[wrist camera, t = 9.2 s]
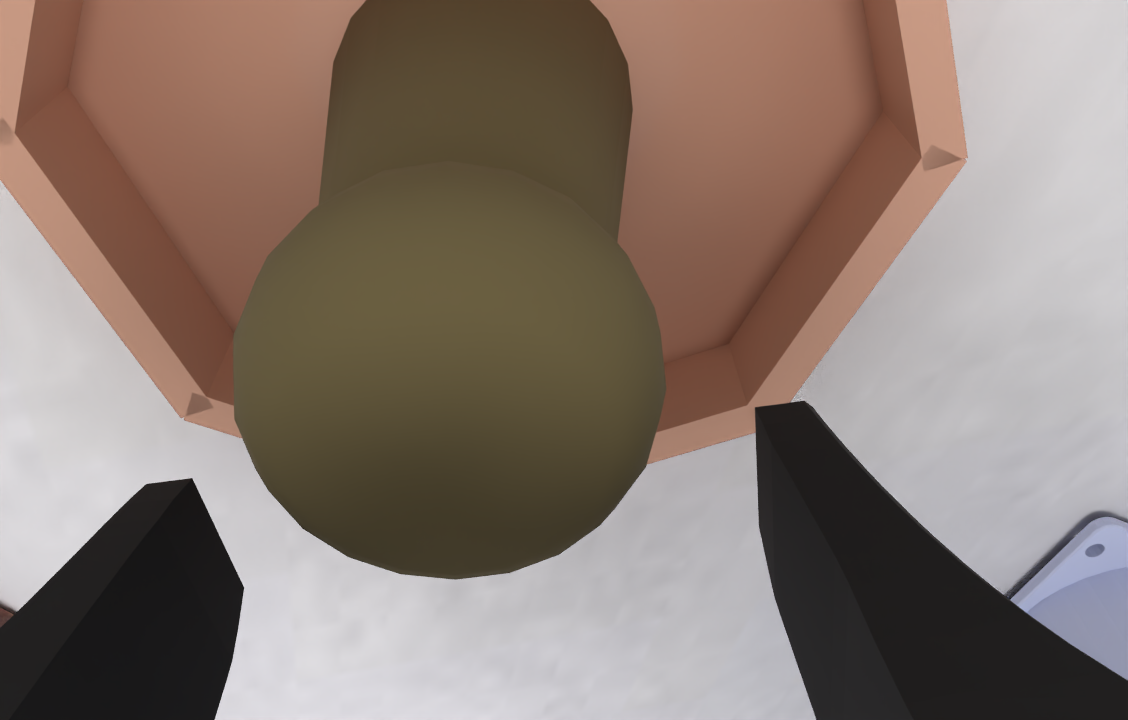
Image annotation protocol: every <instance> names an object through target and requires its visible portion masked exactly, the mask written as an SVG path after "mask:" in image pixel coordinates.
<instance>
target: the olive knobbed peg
mask: <svg viewBox="0 0 1128 720" xmlns="http://www.w3.org/2000/svg"><path fill="white" fill-rule="evenodd" d="M632 113H633V106H632V97H631V87H630V78H629V69H628V63H627V60H626V58H625V56H624V54H623V52H622V49H621V47H620V45H619V43H618V41H617V39H616V36H615V34H614V32H613V30H612V28H611V25H610V23H609V21H608V19H607V18H606V17H605V16H604V15H603V14H602V13H601V12H600V11H599V10H598V9H597V7H596V6H595V5H594V4H593V3H592V2H591V1H590V0H366V1H365V2H364V3H363V5H362V6H361V7H360V8H359V9H358V10H357V11H356V12H355V14H354V15H353V16H352V17H351V18H350V21H349V23H348V26H347V28H346V31H345V33H344V36H343V39H342V41H341V44H340V46H339V49H338V51H337V54H336V56H335V59H334V61H333V69H332V78H331V88H330V98H329V108H328V117H327V127H326V137H325V147H324V156H323V166H322V176H321V186H320V195H319V205H318V206H317V207H315V208H314V209H312V210H311V211H310V212H309V213H308V214H307V215H306V216H305V217H304V218H303V219H302V220H301V221H300V222H299V223H298V225H297V226H296V227H295V228H294V229H293V230H292V231H291V232H290V233H289V234H288V235H287V236H286V237H285V238H284V239H283V240H282V241H281V242H280V243H279V244H278V245H277V246H276V247H275V248H274V249H273V250H272V252H271V253H270V254H269V255H268V256H267V258H266V260H265V262H264V264H263V266H262V268H261V270H260V272H259V274H258V276H257V278H256V280H255V282H254V285H253V287H252V290H251V292H250V295H249V297H248V300H247V302H246V305H245V307H244V310H243V312H242V315H241V317H240V320H239V322H238V325H237V327H236V330H235V332H234V335H233V381H234V420H235V422H236V424H237V427H238V429H239V431H240V434H241V436H242V438H243V441H244V443H245V445H246V448H247V450H248V452H249V455H250V457H251V459H252V462H253V464H254V466H255V469H256V471H257V472H258V474H259V476H260V477H261V479H262V481H263V482H264V484H265V486H266V487H267V489H268V491H269V492H270V493H271V494H272V495H273V496H274V497H275V498H276V499H277V501H278V502H279V503H280V504H281V505H282V506H283V507H284V508H285V509H286V511H287V512H288V513H289V514H290V515H291V516H292V517H293V518H294V519H295V520H296V522H297V523H298V524H299V525H300V526H301V527H302V528H303V529H304V530H306V531H308V532H309V533H311V534H312V535H314V536H316V537H317V538H319V539H320V540H322V541H324V542H325V543H327V544H328V545H330V546H332V547H333V548H335V549H336V550H338V551H340V552H341V553H343V554H344V555H346V556H348V557H350V558H353V559H356V560H359V561H362V562H365V563H368V564H371V565H374V566H377V567H380V568H383V569H386V570H390V571H393V572H396V573H399V574H405V575H415V576H425V577H435V578H446V579H463V578H472V577H480V576H488V575H496V574H504V573H511V572H513V571H516V570H519V569H521V568H524V567H527V566H529V565H532V564H535V563H538V562H540V561H543V560H546V559H548V558H551V557H554V556H556V555H559V554H560V553H562V552H563V551H565V550H566V549H567V548H569V547H570V546H572V545H573V544H574V543H576V542H577V541H579V540H580V539H581V538H583V537H584V536H586V535H587V534H588V533H590V532H591V531H593V530H594V529H595V528H597V527H598V526H600V525H601V523H602V522H603V521H604V520H605V519H606V518H607V517H608V516H609V514H610V513H611V512H612V511H613V510H614V509H615V508H616V506H617V505H618V504H619V502H620V501H621V500H622V498H623V497H624V495H625V494H626V493H627V491H628V490H629V489H630V487H631V486H632V485H633V483H634V482H635V481H636V479H637V478H638V477H639V475H640V474H641V473H642V471H643V470H644V469H645V467H646V465H647V462H648V459H649V455H650V452H651V448H652V445H653V441H654V438H655V434H656V431H657V427H658V424H659V420H660V417H661V412H662V408H663V403H664V398H665V393H666V380H665V370H664V360H663V351H662V341H661V333H660V328H659V324H658V320H657V315H656V311H655V307H654V305H653V303H652V301H651V299H650V297H649V296H648V294H647V292H646V290H645V288H644V286H643V284H642V282H641V280H640V278H639V276H638V274H637V272H636V270H635V268H634V267H633V265H632V263H631V261H630V259H629V257H628V255H627V254H626V253H625V251H624V250H623V249H622V248H621V247H620V245H619V244H618V243H617V242H618V233H619V224H620V216H621V207H622V199H623V190H624V182H625V173H626V164H627V156H628V147H629V139H630V130H631V122H632Z"/></svg>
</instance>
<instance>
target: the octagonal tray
mask: <svg viewBox="0 0 1128 720" xmlns="http://www.w3.org/2000/svg"><path fill="white" fill-rule="evenodd" d="M365 1H366V0H0V180H1V181H2V183H3V184H4V185H5V187H6V188H7V189H8V191H9V192H10V193H11V195H12V196H13V197H14V199H15V200H16V201H17V202H18V204H19V205H20V206H21V208H22V209H23V210H24V212H25V213H26V214H27V216H28V217H29V218H30V220H31V221H32V222H33V224H34V225H35V226H36V228H37V229H38V230H39V232H40V233H41V234H42V235H43V237H44V238H45V239H46V241H47V242H48V243H49V245H50V246H51V247H52V249H53V250H54V251H55V253H56V254H57V255H58V257H59V258H60V259H61V261H62V262H63V263H64V265H65V266H66V267H67V268H68V270H69V271H70V272H71V274H72V275H73V276H74V278H75V279H76V280H77V282H78V283H79V284H80V286H81V287H82V288H83V290H84V291H85V292H86V294H87V295H88V296H89V298H90V299H91V300H92V302H93V303H94V304H95V305H96V307H97V308H98V309H99V311H100V312H101V313H102V315H103V316H104V317H105V319H106V320H107V321H108V323H109V324H110V325H111V327H112V328H113V329H114V331H115V332H116V333H117V335H118V336H119V337H120V338H121V340H122V341H123V342H124V344H125V345H126V346H127V348H128V349H129V350H130V352H131V353H132V354H133V356H134V357H135V358H136V360H137V361H138V362H139V364H140V365H141V366H142V368H143V369H144V370H145V371H146V373H147V374H148V375H149V377H150V378H151V379H152V381H153V382H154V383H155V385H156V386H157V387H158V389H159V390H160V391H161V393H162V394H163V395H164V397H165V398H166V399H167V401H168V402H169V403H170V404H171V406H172V407H173V408H174V410H175V411H176V412H177V414H178V415H179V416H180V418H183V417H185V418H184V420H185V421H188V422H191V423H195V424H198V425H201V426H204V427H207V428H211V429H214V430H217V431H220V432H223V433H227V434H230V435H233V436H236V437H239V438H242V436H241V434H240V431H239V429H238V427H237V424H236V422H235V420H234V381H233V335H234V332H235V330H236V327H237V325H238V322H239V320H240V317H241V315H242V312H243V310H244V307H245V305H246V302H247V300H248V297H249V295H250V292H251V290H252V287H253V285H254V282H255V280H256V278H257V276H258V274H259V272H260V270H261V268H262V266H263V264H264V262H265V260H266V258H267V256H268V255H269V254H270V253H271V252H272V250H273V249H274V248H275V247H276V246H277V245H278V244H279V243H280V242H281V241H282V240H283V239H284V238H285V237H286V236H287V235H288V234H289V233H290V232H291V231H292V230H293V229H294V228H295V227H296V226H297V225H298V223H299V222H300V221H301V220H302V219H303V218H304V217H305V216H306V215H307V214H308V213H309V212H310V211H311V210H312V209H314V208H315V207H317V206H318V205H319V195H320V186H321V176H322V166H323V156H324V147H325V137H326V127H327V117H328V108H329V98H330V88H331V78H332V69H333V61H334V59H335V56H336V54H337V51H338V49H339V46H340V44H341V41H342V39H343V36H344V33H345V31H346V28H347V26H348V23H349V21H350V18H351V17H352V16H353V15H354V14H355V12H356V11H357V10H358V9H359V8H360V7H361V6H362V5H363V3H364V2H365ZM590 1H591V2H592V3H593V4H594V5H595V6H596V7H597V9H598V10H599V11H600V12H601V13H602V14H603V15H604V16H605V17H606V18H607V19H608V21H609V23H610V25H611V28H612V30H613V32H614V34H615V36H616V39H617V41H618V43H619V45H620V47H621V49H622V52H623V54H624V56H625V58H626V60H627V63H628V69H629V78H630V87H631V97H632V106H633V113H632V122H631V130H630V139H629V147H628V156H627V164H626V173H625V182H624V190H623V199H622V207H621V216H620V224H619V233H618V242H617V243H618V244H619V245H620V247H621V248H622V249H623V250H624V251H625V253H626V254H627V255H628V257H629V259H630V261H631V263H632V265H633V267H634V268H635V270H636V272H637V274H638V276H639V278H640V280H641V282H642V284H643V286H644V288H645V290H646V292H647V294H648V296H649V297H650V299H651V301H652V303H653V305H654V307H655V311H656V315H657V320H658V324H659V328H660V333H661V341H662V351H663V360H664V370H665V380H666V393H665V398H664V403H663V408H662V412H661V417H660V420H659V424H658V427H657V431H656V434H655V438H654V441H653V445H652V448H651V452H650V455H649V459H648V462H647V464H650V463H653V462H657V461H660V460H664V459H667V458H670V457H674V456H677V455H681V454H684V453H687V452H691V451H694V450H698V449H701V448H704V447H708V446H711V445H715V444H718V443H721V442H725V441H728V440H732V439H735V438H738V437H742V436H745V435H749V434H752V433H755V432H756V427H755V407H760V406H768V405H776V404H784V403H790V401H791V400H792V398H793V397H794V396H795V394H796V393H797V392H798V390H799V389H800V388H801V386H802V385H803V384H804V382H805V381H806V379H807V378H808V377H809V375H810V374H811V373H812V371H813V370H814V369H815V367H816V366H817V364H818V363H819V362H820V360H821V359H822V358H823V356H824V355H825V354H826V352H827V351H828V349H829V348H830V347H831V345H832V344H833V343H834V341H835V340H836V339H837V337H838V336H839V334H840V333H841V332H842V330H843V329H844V328H845V326H846V325H847V324H848V322H849V321H850V319H851V318H852V317H853V315H854V314H855V313H856V311H857V310H858V309H859V307H860V306H861V304H862V303H863V302H864V300H865V299H866V298H867V296H868V295H869V294H870V292H871V291H872V290H873V288H874V287H875V285H876V284H877V283H878V281H879V280H880V279H881V277H882V276H883V275H884V273H885V272H886V270H887V269H888V268H889V266H890V265H891V264H892V262H893V261H894V260H895V258H896V257H897V255H898V254H899V253H900V251H901V250H902V249H903V247H904V246H905V245H906V243H907V242H908V240H909V239H910V238H911V236H912V235H913V234H914V232H915V231H916V230H917V228H918V227H919V225H920V224H921V223H922V221H923V220H924V219H925V217H926V216H927V215H928V213H929V212H930V211H931V209H932V208H933V206H934V205H935V204H936V202H937V201H938V200H939V198H940V197H941V196H942V194H943V193H944V191H945V190H946V189H947V187H948V186H949V185H950V183H951V182H952V181H953V179H954V178H955V176H956V175H957V174H958V172H959V171H960V170H961V168H962V167H963V166H964V164H965V163H966V160H965V158H968V156H967V149H966V141H965V134H964V127H963V119H962V112H961V105H960V97H959V90H958V83H957V76H956V68H955V61H954V54H953V46H952V39H951V32H950V24H949V17H948V10H947V3H946V0H590Z"/></svg>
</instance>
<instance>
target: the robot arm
mask: <svg viewBox="0 0 1128 720" xmlns="http://www.w3.org/2000/svg"><path fill="white" fill-rule="evenodd" d="M755 427H756V455H757V483H758V511H759V528H760V533H761V538H762V542H763V547H764V552H765V556H766V561H767V566H768V570H769V574H770V579H771V583H772V588H773V592H774V596H775V600H776V603H777V606H778V609H779V612H780V615H781V618H782V621H783V624H784V627H785V630H786V633H787V635H788V638H789V641H790V644H791V647H792V650H793V653H794V656H795V659H796V662H797V665H798V667H799V670H800V673H801V676H802V679H803V682H804V685H805V688H806V691H807V693H808V696H809V699H810V702H811V705H812V708H813V711H814V714H815V716H816V719H817V720H1128V523H1126V522H1123V521H1121V520H1118V519H1115V518H1112V517H1102V518H1098V519H1095V520H1093V521H1092V522H1090V523H1089V524H1088V525H1087V526H1086V527H1085V528H1084V529H1083V530H1082V531H1081V532H1079V533H1078V534H1077V535H1076V536H1075V537H1074V538H1073V539H1072V540H1071V541H1070V542H1069V543H1068V544H1067V545H1066V546H1065V547H1064V548H1063V549H1062V550H1061V551H1060V552H1059V553H1058V554H1057V555H1056V556H1055V557H1054V558H1053V559H1052V560H1051V561H1049V562H1048V563H1047V564H1046V565H1045V566H1044V567H1043V568H1042V569H1041V570H1040V571H1039V572H1038V573H1037V574H1036V575H1035V576H1034V577H1033V578H1032V579H1031V580H1030V581H1029V582H1028V583H1027V584H1026V585H1025V586H1024V587H1023V588H1022V589H1021V590H1020V591H1018V592H1017V593H1016V594H1015V595H1014V596H1013V597H1012V598H1011V599H1010V600H1009V599H1008V598H1007V597H1005V596H1004V595H1003V594H1001V593H1000V592H999V591H997V590H996V589H995V588H994V587H992V586H991V585H990V584H989V583H987V582H986V581H985V580H984V579H983V578H981V577H980V576H979V575H978V574H976V573H975V572H974V571H973V570H972V569H971V568H969V567H968V566H967V565H966V564H965V563H963V562H962V561H961V560H960V559H959V558H958V557H957V556H955V555H954V554H953V553H952V552H951V551H950V550H949V549H948V548H946V547H945V546H944V545H943V544H942V543H941V542H940V541H938V540H937V539H936V538H935V537H934V536H933V535H932V534H931V533H930V532H929V531H928V530H926V529H925V528H924V527H923V526H922V525H921V524H920V523H919V522H918V521H917V520H916V519H915V518H914V517H913V516H912V515H911V514H910V513H909V512H908V511H907V510H906V509H905V508H904V507H903V506H902V505H901V504H900V503H899V502H898V501H897V500H896V499H895V498H894V497H893V496H892V495H891V494H890V493H889V492H888V491H887V490H886V489H884V488H883V487H882V486H881V485H880V483H879V482H878V481H877V480H876V479H875V478H874V477H873V476H872V475H871V474H870V473H869V472H868V471H867V470H866V469H865V468H864V467H863V465H862V464H861V463H860V462H859V461H858V460H857V459H856V458H855V457H854V455H853V454H852V453H851V452H850V451H849V450H848V449H847V448H846V447H845V445H844V444H843V443H842V442H841V441H840V440H839V439H838V437H837V436H836V435H835V434H834V433H833V431H832V430H831V429H830V428H829V427H828V425H827V424H826V423H825V422H824V421H823V419H822V418H821V417H820V416H819V414H818V413H817V412H816V411H815V409H814V408H813V407H812V406H810V405H809V404H808V403H806V402H805V401H800V402H792V403H784V404H776V405H768V406H760V407H755ZM1091 545H1092V546H1091ZM243 591H244V587H243V585H242V582H241V580H240V578H239V576H238V574H237V572H236V570H235V568H234V566H233V564H232V561H231V559H230V557H229V555H228V553H227V551H226V549H225V547H224V545H223V542H222V540H221V538H220V536H219V534H218V532H217V530H216V528H215V526H214V523H213V521H212V519H211V517H210V515H209V513H208V511H207V509H206V507H205V504H204V502H203V500H202V498H201V496H200V494H199V492H198V490H197V488H196V485H195V483H194V481H193V479H192V478H191V479H183V480H175V481H167V482H159V483H151V484H146V485H145V486H144V487H143V488H142V489H141V490H139V491H138V492H137V493H136V494H135V495H134V496H133V497H132V498H131V499H130V500H129V501H128V502H127V503H126V504H124V505H123V506H122V507H121V508H120V509H119V510H118V511H117V512H116V513H115V514H114V515H113V516H112V517H111V518H110V519H109V520H108V521H107V522H106V523H105V524H104V525H103V526H102V527H101V528H100V529H99V530H98V531H97V532H96V533H95V535H94V536H93V537H92V538H91V539H90V540H89V541H88V542H87V543H86V544H85V545H84V546H83V547H82V548H81V549H80V550H79V551H78V552H77V553H76V554H75V555H74V556H73V557H72V558H71V559H70V560H69V561H68V562H67V563H66V564H65V565H64V566H63V567H62V568H61V569H60V570H59V571H58V572H57V573H56V574H55V575H54V576H53V577H52V578H51V579H50V580H49V581H48V582H47V583H46V584H45V585H44V586H43V587H42V588H41V589H40V590H39V591H38V592H37V593H36V594H35V595H34V596H33V597H32V598H31V599H30V600H29V601H28V602H27V603H26V604H25V605H24V606H23V607H22V608H21V609H20V610H19V611H18V612H16V613H15V614H14V615H13V616H12V617H11V618H10V619H9V620H8V621H7V622H6V623H5V624H4V625H3V626H1V627H0V720H215V716H216V713H217V710H218V706H219V703H220V700H221V697H222V693H223V690H224V687H225V683H226V680H227V677H228V673H229V670H230V666H231V663H232V659H233V653H234V648H235V642H236V637H237V631H238V625H239V619H240V612H241V605H242V598H243Z"/></svg>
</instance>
